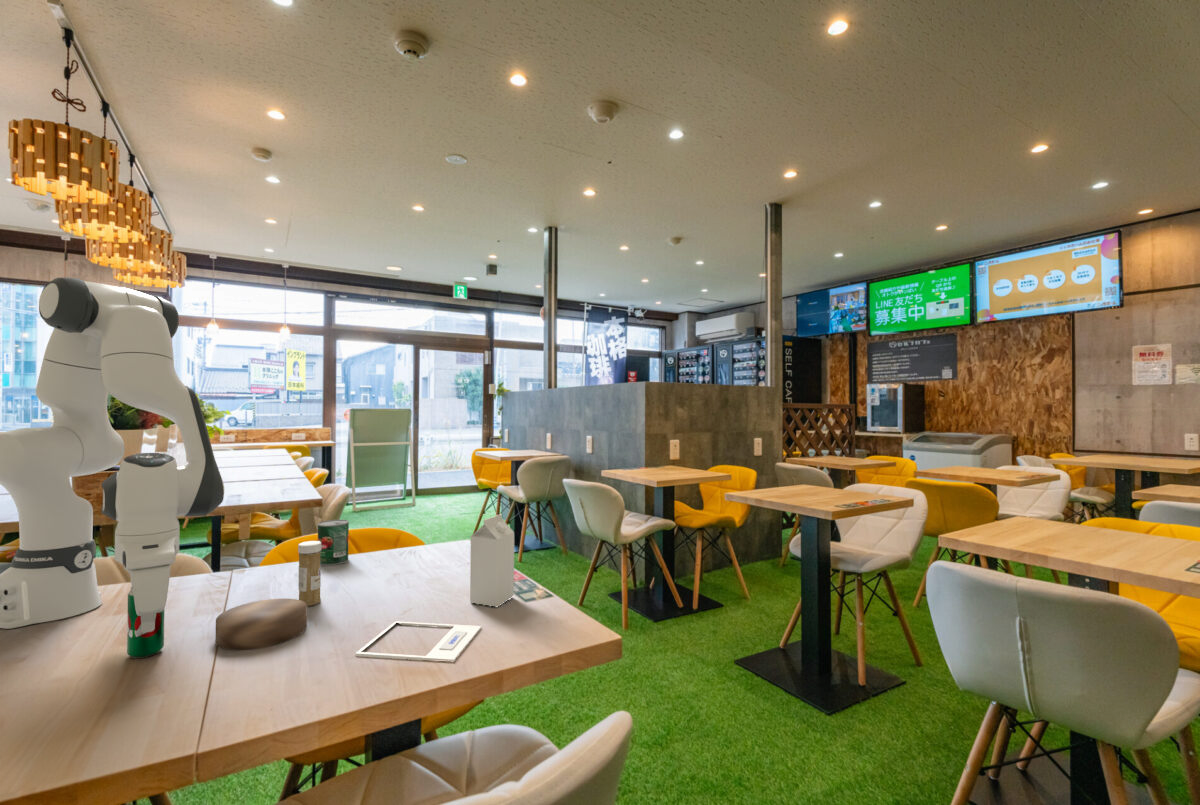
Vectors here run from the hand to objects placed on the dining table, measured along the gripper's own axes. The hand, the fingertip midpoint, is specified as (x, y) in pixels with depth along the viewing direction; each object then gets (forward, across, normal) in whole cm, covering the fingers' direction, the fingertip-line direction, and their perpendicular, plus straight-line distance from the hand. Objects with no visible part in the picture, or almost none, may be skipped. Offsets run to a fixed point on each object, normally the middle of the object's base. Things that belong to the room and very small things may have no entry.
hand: (146, 625), depth 98 cm
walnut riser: (+5, +3, +17) cm, 18 cm away
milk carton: (+5, +17, +60) cm, 62 cm away
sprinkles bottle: (+5, -8, +29) cm, 30 cm away
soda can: (+5, 0, 0) cm, 5 cm away
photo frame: (+5, +27, +39) cm, 47 cm away
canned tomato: (+6, -39, +43) cm, 58 cm away
